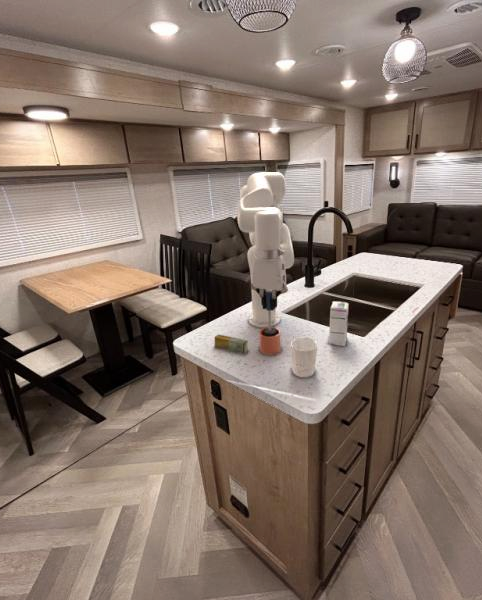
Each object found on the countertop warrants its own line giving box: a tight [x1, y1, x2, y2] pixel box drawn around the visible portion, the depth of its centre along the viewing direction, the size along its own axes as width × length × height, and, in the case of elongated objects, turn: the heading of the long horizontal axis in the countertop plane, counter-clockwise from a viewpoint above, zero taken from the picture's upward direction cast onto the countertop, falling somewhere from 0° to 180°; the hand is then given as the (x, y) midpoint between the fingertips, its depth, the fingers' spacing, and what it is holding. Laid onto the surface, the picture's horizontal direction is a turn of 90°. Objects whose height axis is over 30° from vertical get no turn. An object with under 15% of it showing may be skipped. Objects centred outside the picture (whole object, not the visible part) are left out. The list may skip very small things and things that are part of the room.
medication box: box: [214, 334, 249, 354], centre depth 111 cm, size 12×3×4 cm, turn 67°
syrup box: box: [328, 301, 350, 347], centre depth 112 cm, size 6×6×14 cm
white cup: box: [290, 336, 319, 378], centre depth 97 cm, size 8×8×10 cm
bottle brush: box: [265, 291, 275, 337], centre depth 106 cm, size 4×4×21 cm
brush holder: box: [258, 326, 282, 356], centre depth 109 cm, size 7×7×7 cm
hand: (269, 307), depth 104 cm, fingers closed on bottle brush, 2 cm apart
